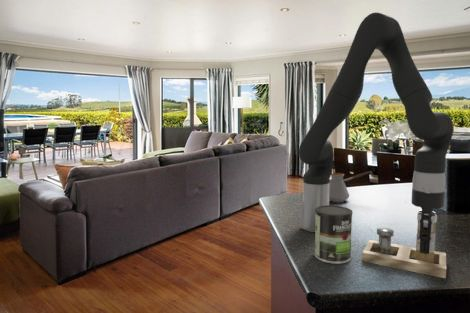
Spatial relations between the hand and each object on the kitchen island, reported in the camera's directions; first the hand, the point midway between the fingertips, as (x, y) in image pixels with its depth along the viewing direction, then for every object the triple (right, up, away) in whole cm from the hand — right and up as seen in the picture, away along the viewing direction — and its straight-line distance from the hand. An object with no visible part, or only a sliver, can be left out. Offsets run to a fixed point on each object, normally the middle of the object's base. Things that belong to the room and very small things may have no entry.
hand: (424, 249), depth 89 cm
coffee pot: (+2, +4, +67) cm, 67 cm away
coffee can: (-23, -4, +7) cm, 24 cm away
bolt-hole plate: (-4, -4, +3) cm, 7 cm away
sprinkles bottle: (0, -4, 0) cm, 3 cm away
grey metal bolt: (-8, -4, +6) cm, 11 cm away
